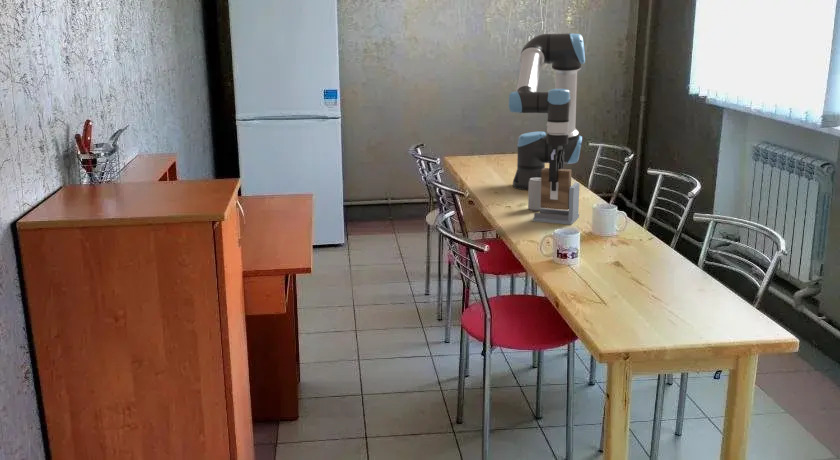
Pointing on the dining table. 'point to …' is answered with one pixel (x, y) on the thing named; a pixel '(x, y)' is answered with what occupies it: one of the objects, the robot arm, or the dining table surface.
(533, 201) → the beverage can
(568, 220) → the door track
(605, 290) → the dining table surface
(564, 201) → the door panel
